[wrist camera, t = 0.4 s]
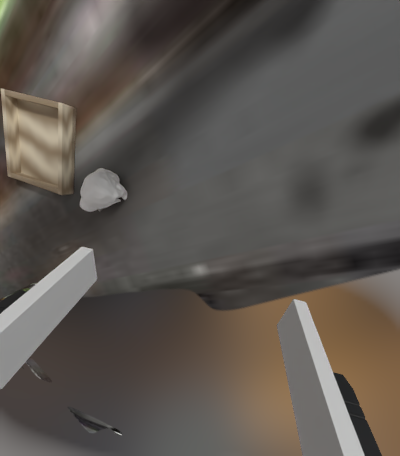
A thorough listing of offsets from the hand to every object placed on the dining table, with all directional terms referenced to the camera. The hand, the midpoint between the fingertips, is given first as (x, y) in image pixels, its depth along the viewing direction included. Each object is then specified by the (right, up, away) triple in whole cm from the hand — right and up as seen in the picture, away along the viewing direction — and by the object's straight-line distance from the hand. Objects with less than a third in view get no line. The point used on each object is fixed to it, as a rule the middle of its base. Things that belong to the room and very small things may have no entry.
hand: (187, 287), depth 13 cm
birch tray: (-34, +23, +31) cm, 51 cm away
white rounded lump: (-19, +12, +30) cm, 37 cm away
